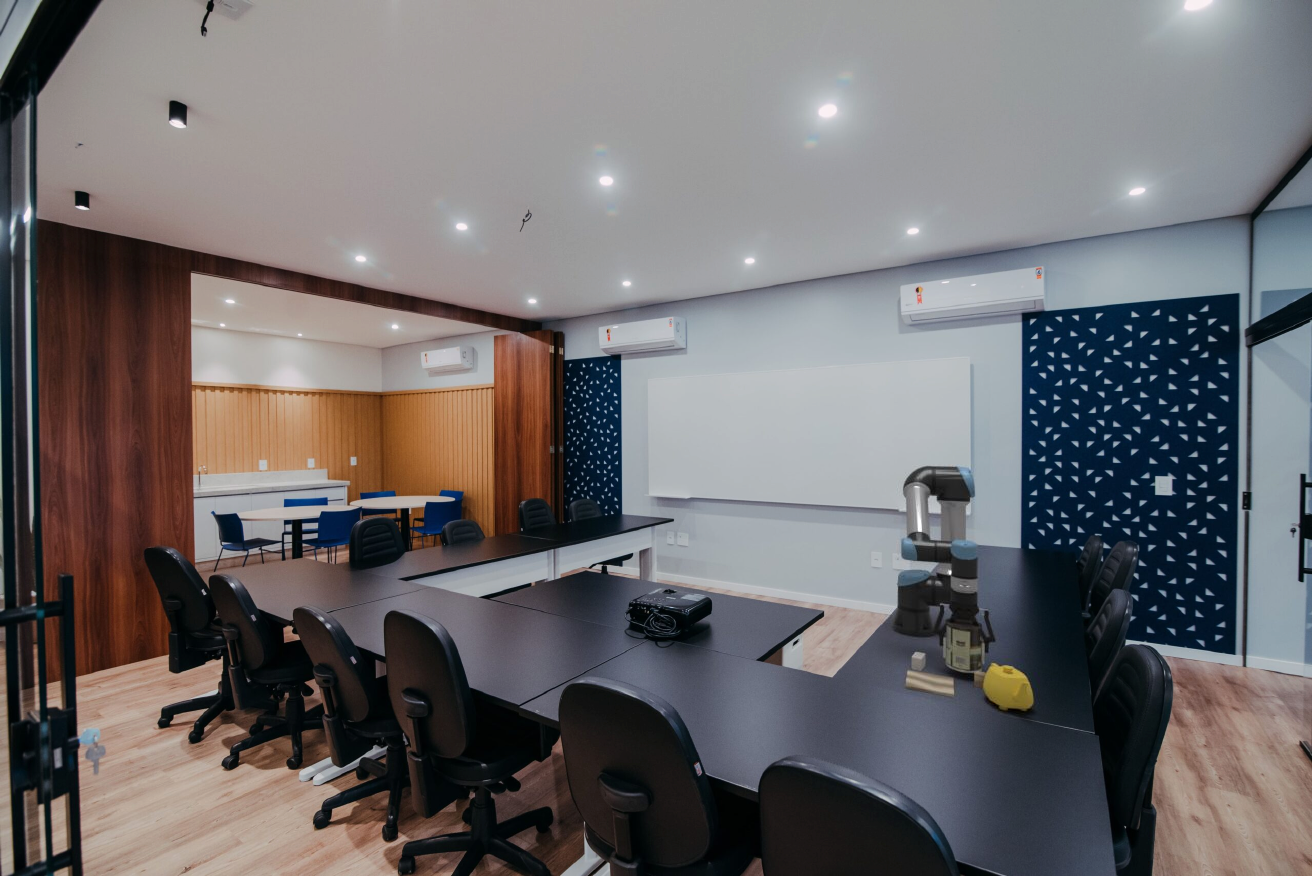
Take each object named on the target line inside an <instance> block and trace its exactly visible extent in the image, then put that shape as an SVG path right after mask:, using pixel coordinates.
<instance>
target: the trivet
mask: <svg viewBox="0 0 1312 876" xmlns="http://www.w3.org/2000/svg"><path fill="white" fill-rule="evenodd" d="M904 688H905V689H908V690H913V691H918V692H922V693H923V692H924V693H929V694H934V695H940V696H944V697H949V698H955V685H954V677H950V676H945V675H940V674H939V675H938V674H933V673H928V672H922V671H918V670H912V669H910V670H909V669H907V672H906V678H905V687H904Z"/></svg>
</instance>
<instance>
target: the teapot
mask: <svg viewBox="0 0 1312 876" xmlns="http://www.w3.org/2000/svg"><path fill="white" fill-rule="evenodd" d="M1002 666H1003V667H1002ZM1013 667H1014V666H1013ZM1013 667H1011V666H1010V665H1007V664H1006V665H1005V664H1004V665H1001V666H999V665H998V664H997V663H994V662H992V663H990V666H989V667H988V669H987V671H986V672H985V673H986V675H985V678H984V683H983V688H982V689H983V691H984V694H985V695H986V697H987V698H988V700H989V701H991V702H992V703H993V704H994V703H995V704H996V705H998V709H1000V711H1001V710H1002V711H1008V710H1009V709H1017V710H1019V711H1023V712H1027V711H1028V709H1030V708H1032V706H1033V705H1034V694H1033V693H1034V692H1033V690H1032V686H1031V683H1030V681H1029V678H1028V677H1027V676H1026V675H1025V674H1024V673H1023V672H1021V671H1020V670H1018V669H1016V668H1015V667H1014V668H1015V669H1014V668H1013Z"/></svg>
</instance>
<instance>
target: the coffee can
mask: <svg viewBox="0 0 1312 876" xmlns="http://www.w3.org/2000/svg"><path fill="white" fill-rule="evenodd" d="M949 618H950V617H948V618H946V619H945V624H946V625H947V632H946V633H945V635H946V658H945V665H946V666H947V667H948V668H949V669H951V670H954V671H957V672H960V673H965V674H966V673H967V674H974V673H975V672H977V671H981V672H982V670H983V668H982V663H981V652H982V640H983V639H982V637H981V629H983V624H982V623H981V622H979V621H978V623H979V626H975V625H974V624H973V622H972V621H971V620H969V621H968V620H965V619H958V618H957V619H956V620H955V621H954V622H953V623H949V622H948V619H949Z"/></svg>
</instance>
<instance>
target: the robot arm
mask: <svg viewBox="0 0 1312 876" xmlns="http://www.w3.org/2000/svg"><path fill="white" fill-rule="evenodd" d="M975 487H976V486H975V480H974V475H973V472H972V470H971V469H970V468H969V467H967V466H966V467H965V466H957V465H956V466H945V465H944V466H941V465H938V466H935V465H933V466H932V465H926V466H925V465H924V466H921V467H919V468H917V469H915V470H913V471H912V472H911V473H910V474H909V475H907V477H906V479H905V481H904V483H903V486H902V495H903V497H904V498H905V504H906V505H905V507H906V509H905V511H906V515H905V516H906V537H903V538H901V544H900V546H901V547H900V552H901V553H900V554H901V559H903V560H906V561H913V562H921V563H922V562H923V563H937V564H940V567H939V568H938V569H937V570H936V574H935V575H932V574H931V572H930V571H929V570H926V569H908V570H904V571H901V572H899V574H898V575H897V583H896V585H897V602H896V603H897V606H896V607H897V609H896V612H895V614H894V618H893V620H892V629H893V630H894V631H895V632H896V633H899V634H902V635H906V636H911V637H918V638H919V637H922V638H928V637H932V636H934V635H937V636H938V638H939V641H938V642H939V647H943V650H942V652H943V653H942V655H943V656H942V657H943V659H946V632H947V625H946V623H945V624H944V625H943V626H942V628H941V629H940V627H941V624H942V620H943V619H944V615H945V612H948V609H949V610H950V611H951V615H950V616H949V617H948V618H949V619H948V618H947V619H948V622H949V623H953V622H954V621H955V620H956V619H957V618H958V619H965V620H968V621H969V620H971V621H972V622H973V624H974V625H975V626H979V623H980V622H979V621H978V619H977V617H976V616H977V614H979V613H980V615H981V617H983V620H984V622H985V625H986V629H987V632H988V635H989V636H987V634H986V633H985V630H984V629H983V628H982V629H981V637H982V652H981V665H985V655H986V654H989V651H990V650H989V649H990V647H989V645H990V643H995V642H996V638H995V634H994V630H993V628H992V624H991V622H990V618H989V616H990V615H989V614H990V610H989V609H988V608H981V607H979V606H978V595H979V594H978V589H979V588H978V586H979V585H978V584H979V582H978V581H979V579H978V574H979V573H978V570H979V569H978V568H979V567H978V566H979V564H978V563H979V549H978V548H979V545H978V543H976V542H974V541H971V540H967V506H968V505H969V504H970V503H971V498H972V499H973V498H975V497H976V488H975ZM931 496H932V497H936V502H937V503H938V504H939V505H940V540H937V539H931V530H930V529H931V528H930V514H929V512H930V511H929V498H930V497H931ZM931 607H938V608H939V612H938V615H937V618H936V621H935V623H934V620H933V617H932V616H931V609H930V608H931ZM978 622H979V623H978Z"/></svg>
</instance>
